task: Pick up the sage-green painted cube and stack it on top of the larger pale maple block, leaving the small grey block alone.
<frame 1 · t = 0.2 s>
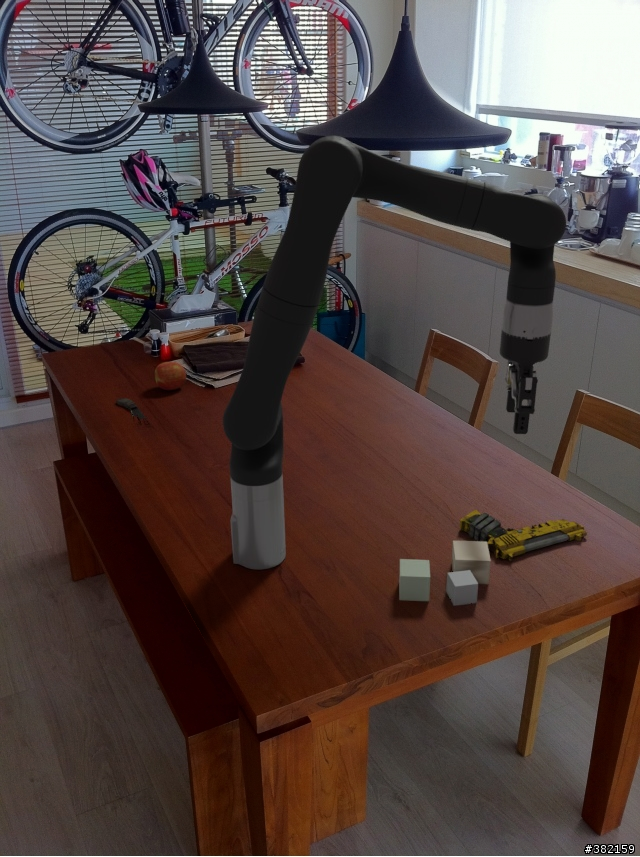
hand: (516, 422, 130), 28 cm above the table, tool pointing down, fingers open, 8 cm apart
toy gun: (520, 535, 152), on the table
maple block: (469, 574, 140), on the table
apple: (171, 389, 222), on the table
green cube: (413, 592, 135), on the table
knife: (137, 421, 204), on the table
grey block: (461, 597, 134), on the table
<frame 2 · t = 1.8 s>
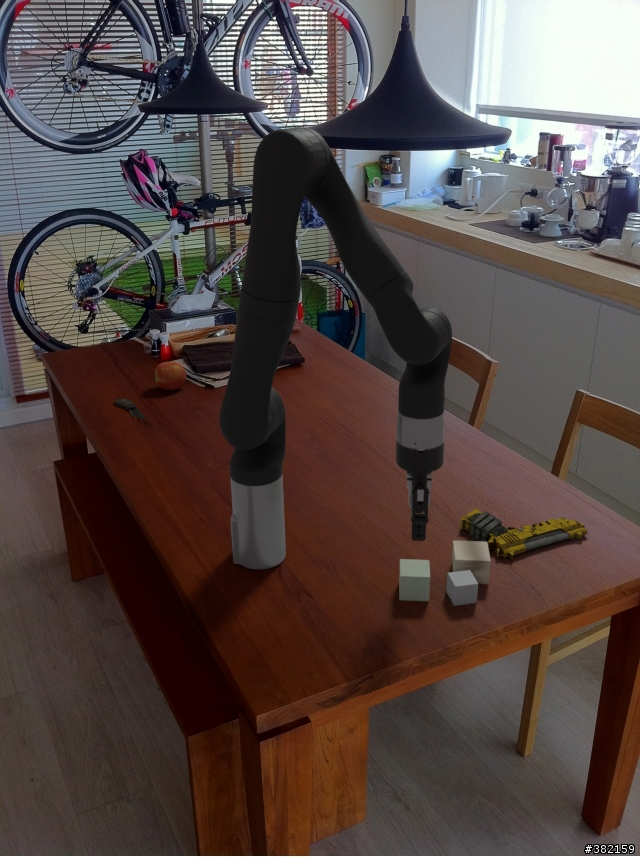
hand: (417, 525, 130), 13 cm above the table, tool pointing down, fingers open, 8 cm apart
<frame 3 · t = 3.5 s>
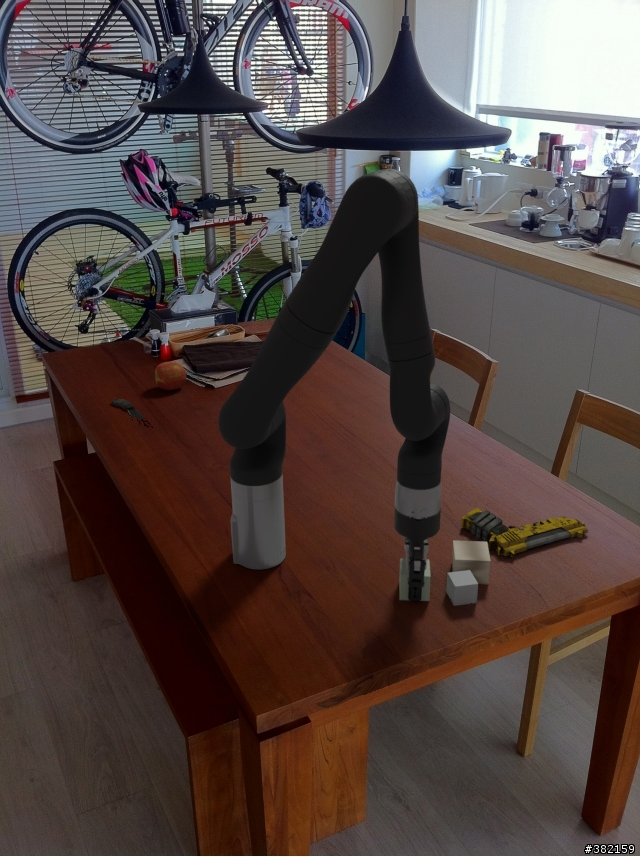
hand: (414, 589, 135), 0 cm above the table, tool pointing down, fingers closed on green cube, 5 cm apart
green cube: (414, 591, 135), on the table, touching gripper
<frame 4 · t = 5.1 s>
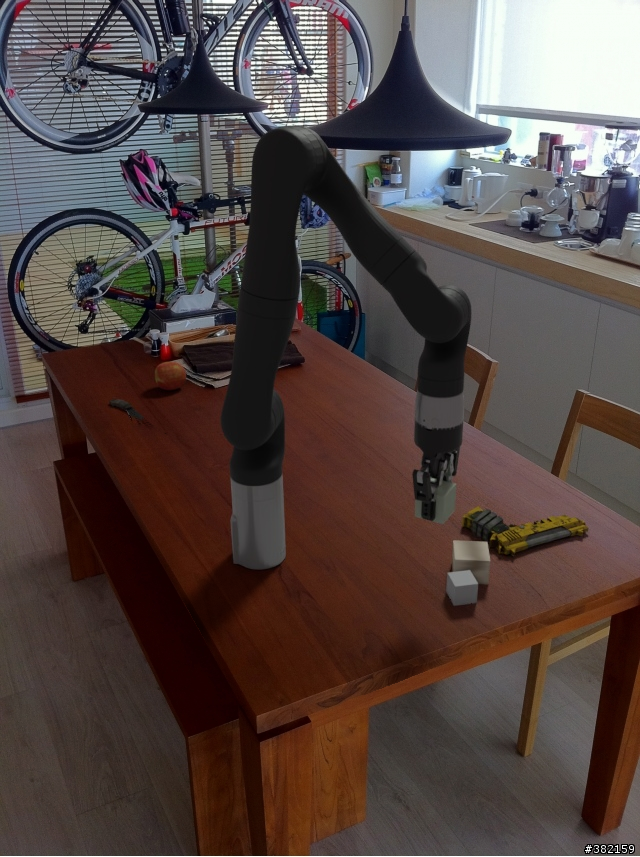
hand: (435, 510, 129), 16 cm above the table, tool pointing down, fingers closed on green cube, 5 cm apart
green cube: (434, 513, 129), point 15 cm above the table, touching gripper
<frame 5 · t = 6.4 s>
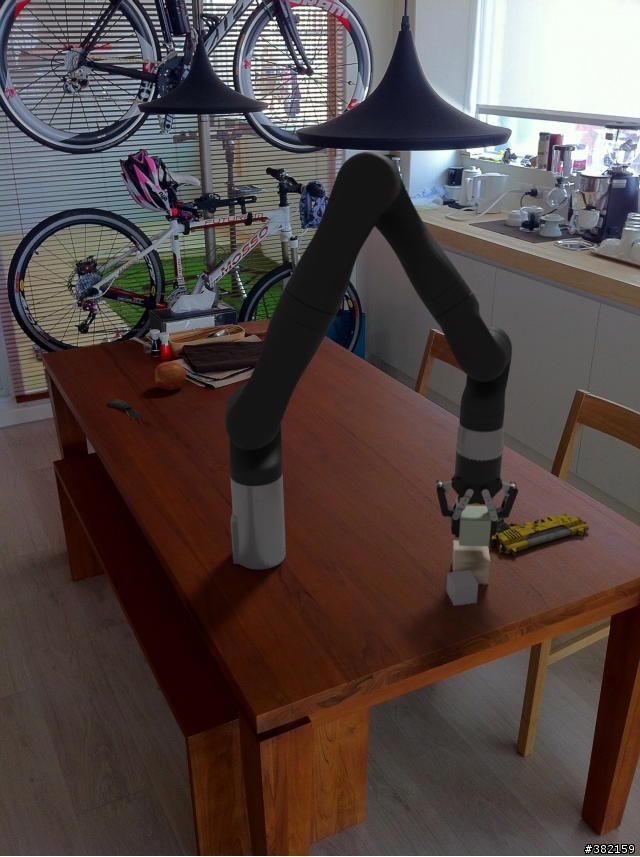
hand: (472, 535, 137), 8 cm above the table, tool pointing down, fingers closed on green cube, 5 cm apart
green cube: (472, 538, 137), point 7 cm above the table, touching gripper
when the fingers open (6 cm above the table, at t = 7.1 s): green cube stays where it is, resting on maple block.
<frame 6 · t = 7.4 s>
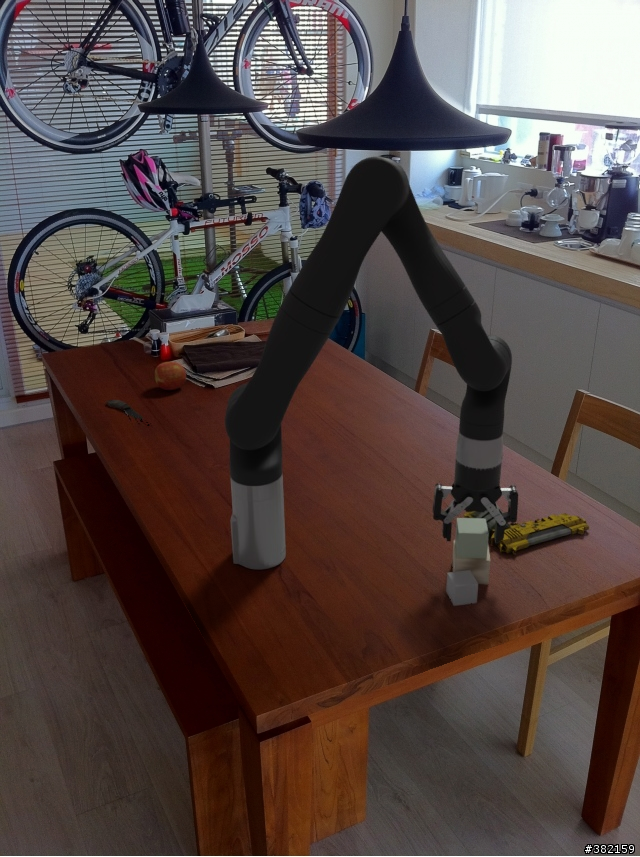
hand: (472, 539, 137), 7 cm above the table, tool pointing down, fingers open, 8 cm apart
maple block: (469, 573, 140), on the table, touching green cube
green cube: (470, 550, 138), point 5 cm above the table, touching maple block
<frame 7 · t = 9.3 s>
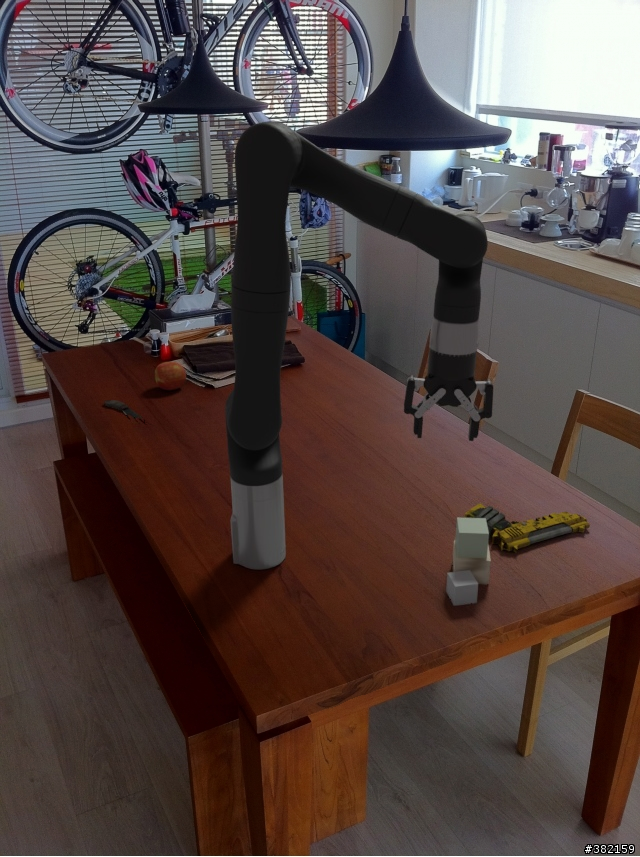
hand: (444, 437, 131), 26 cm above the table, tool pointing down, fingers open, 8 cm apart
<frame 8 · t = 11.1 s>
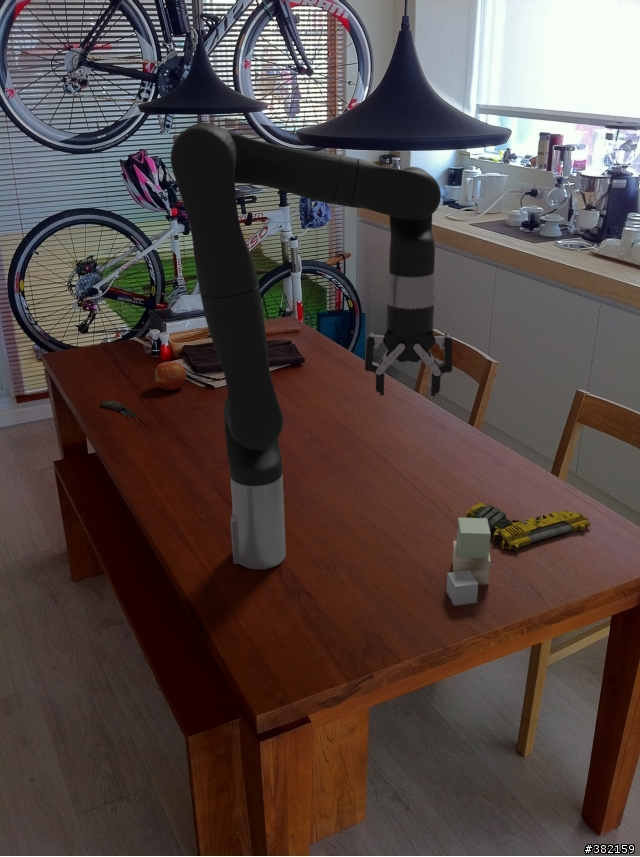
hand: (407, 394, 132), 32 cm above the table, tool pointing down, fingers open, 8 cm apart
at the end: green cube 0.2 cm off-centre on the maple block, point 5.0 cm above the maple block's base; green cube tilted 0°; the gripper is holding nothing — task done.
